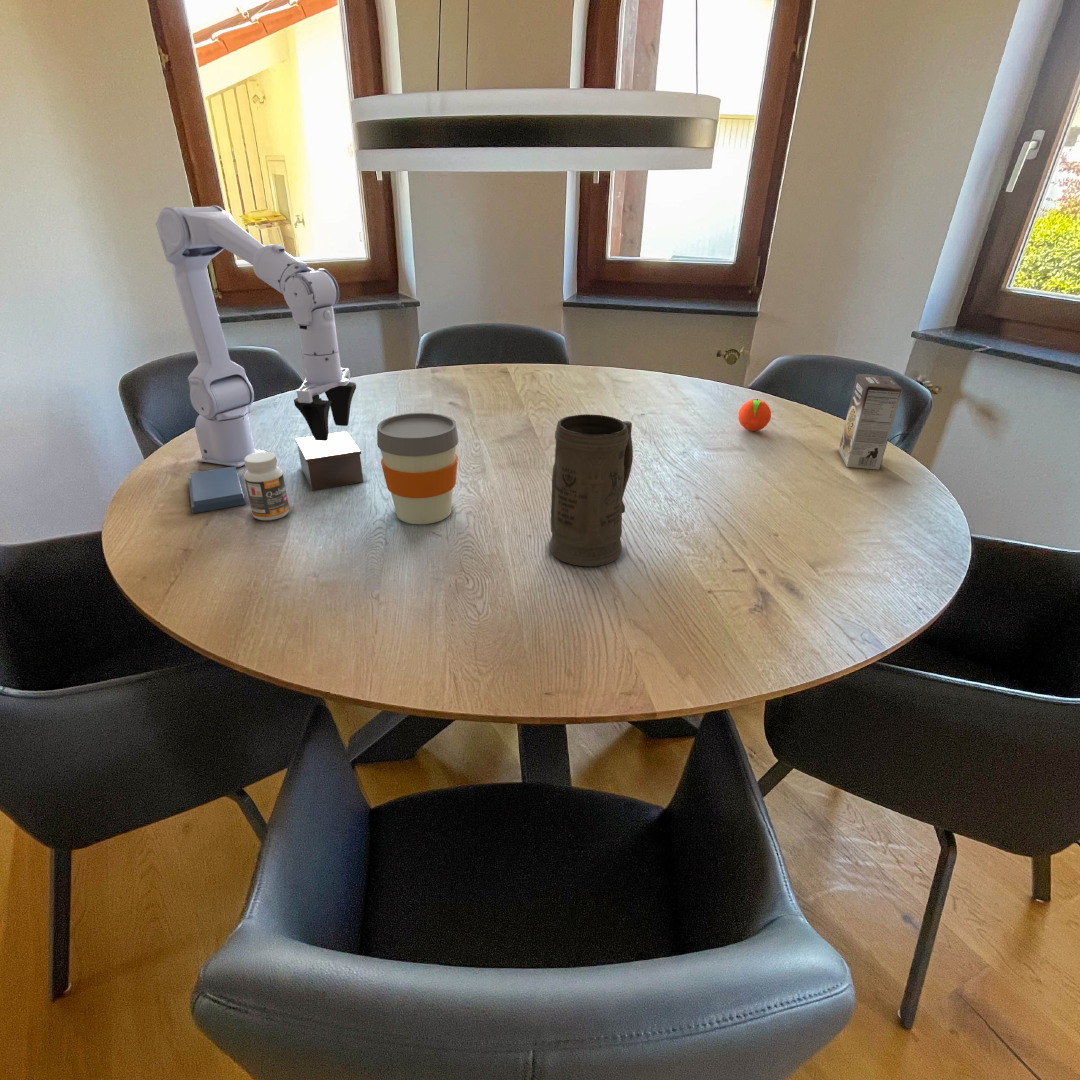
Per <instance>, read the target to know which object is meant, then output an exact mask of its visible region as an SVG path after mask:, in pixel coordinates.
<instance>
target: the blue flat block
mask: <svg viewBox="0 0 1080 1080" xmlns="http://www.w3.org/2000/svg"><path fill="white" fill-rule="evenodd" d="M238 472H239V471H237V467H233V466H227V467H223V468H216V469H209V470H203V471H196V472H195V471H194V472H191V473H190V477H189V478H188V486H189V496H190V506H191V511H192V514H199V513H204V512H210V511H217V510H221V509H226V508H227V509H228V508H233V507H238V506H245V505H246V499H245V495H244V491H243V487H242V484H241V480H240V475H239V473H238Z"/></svg>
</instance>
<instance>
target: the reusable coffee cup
mask: <svg viewBox="0 0 1080 1080" xmlns="http://www.w3.org/2000/svg"><path fill="white" fill-rule="evenodd" d="M456 422H457V421H455V420H454V419H453V418H452V417H450V416H447V415H444V414H440V413H434V412H409V413H401V414H396V415H393V416H389V417H387V418H384V419H383V420H381V421H379V423H378V424H377V427H376V445H377V448H378V449H379V450H380V454H381V460H380V465H381V468H382V472H383V476H384V480H385V484H386V489H387V490H388V491H389V492H390V493H391V498H392V502H393V506H394V510H395V513H396V517H397V518H398V519H399V520H400V521H402V522H404V523H407V524H412V525H429V524H433V523H435V524H436V523H438V522H441V521H444V520H445V519H446V518H448V517H449V516H450V515H451V514H452V513H451V512H452V507H453V506H452V505H453V492H454V488H455V487H456V484H457V473H458V461H459V456H458V454H457V445H458V444H459V442H460V441H459V435H458V429H457V423H456Z"/></svg>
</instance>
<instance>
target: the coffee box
mask: <svg viewBox="0 0 1080 1080" xmlns="http://www.w3.org/2000/svg"><path fill="white" fill-rule="evenodd" d="M853 385H854V386H853V389H852V393H851V398H850V402H849V406H848V411H847V414H846V417H845V418H846V419H845V421H844V422H845V423H844V426H843V431H842V435H841V439H840V444H839V448H838V453H839V455H840V456H841V458H842V461H843V462H844V463H845V466H846V468H855V469H868V470H877V471H878V470H880V469H881V465H882V462H883V459H884V455H885V452H886V449H887V445H888V442H889V438H890V435H891V431H892V428H893V426H894V425H893V424H894V421H895V419H896V415H897V411H898V407H899V405H900V400H901V397H902V393H903V390H904V389H903V388H902V386H900V385H899V384H898V383H897V381H895V380H894V379H893V378H892V377H891V376H890V375H889V376H888V375H877V374H866V373H865V374H864V373H857V374H856V376H855V380H854V384H853Z"/></svg>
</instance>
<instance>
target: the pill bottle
mask: <svg viewBox="0 0 1080 1080" xmlns="http://www.w3.org/2000/svg"><path fill="white" fill-rule="evenodd" d="M244 462H245V465H244V466H245V468H246V469H247V470H246V471H245V473H244V475H243V478H244V484H245V487H246V492H247V497H248V502H249V506H250V510H251V515H252V516H253V518H255V519H256V520H259V521H274V520H278V519H281V518H284V517H285V516H287V515H288V514H289V512H290V504H289V499H288V492H287V487H286V482H285V476H284V472H283V470H282V468H281V467H280V466H277V464H278V458H277V455H276V454H275V453H273V452H270V451H266V452H258V453H253V454H250V455H248V456H246V457H245V458H244Z"/></svg>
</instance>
